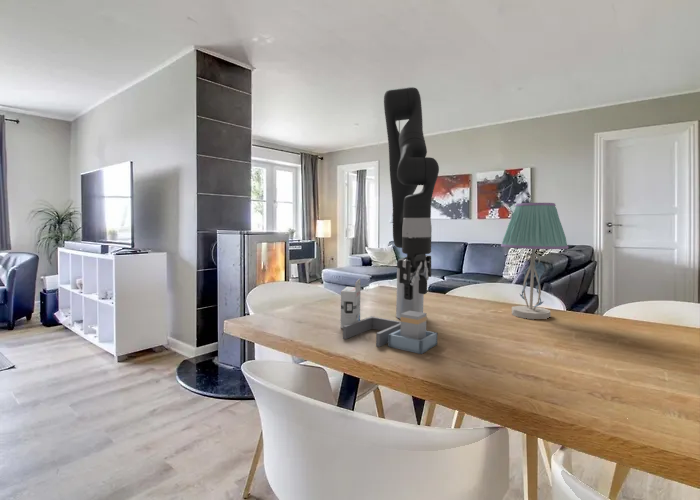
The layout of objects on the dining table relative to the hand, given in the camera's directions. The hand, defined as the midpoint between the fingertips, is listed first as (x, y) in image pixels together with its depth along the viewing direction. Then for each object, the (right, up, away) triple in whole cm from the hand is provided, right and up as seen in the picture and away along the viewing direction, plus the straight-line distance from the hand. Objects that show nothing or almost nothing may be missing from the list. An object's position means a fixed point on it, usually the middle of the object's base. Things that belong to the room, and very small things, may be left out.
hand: (415, 296), depth 100 cm
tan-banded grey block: (-1, -13, +1) cm, 13 cm away
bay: (-11, -13, +8) cm, 18 cm away
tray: (-1, -13, +1) cm, 13 cm away
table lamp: (+48, -11, +36) cm, 61 cm away
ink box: (-17, -12, +20) cm, 29 cm away
